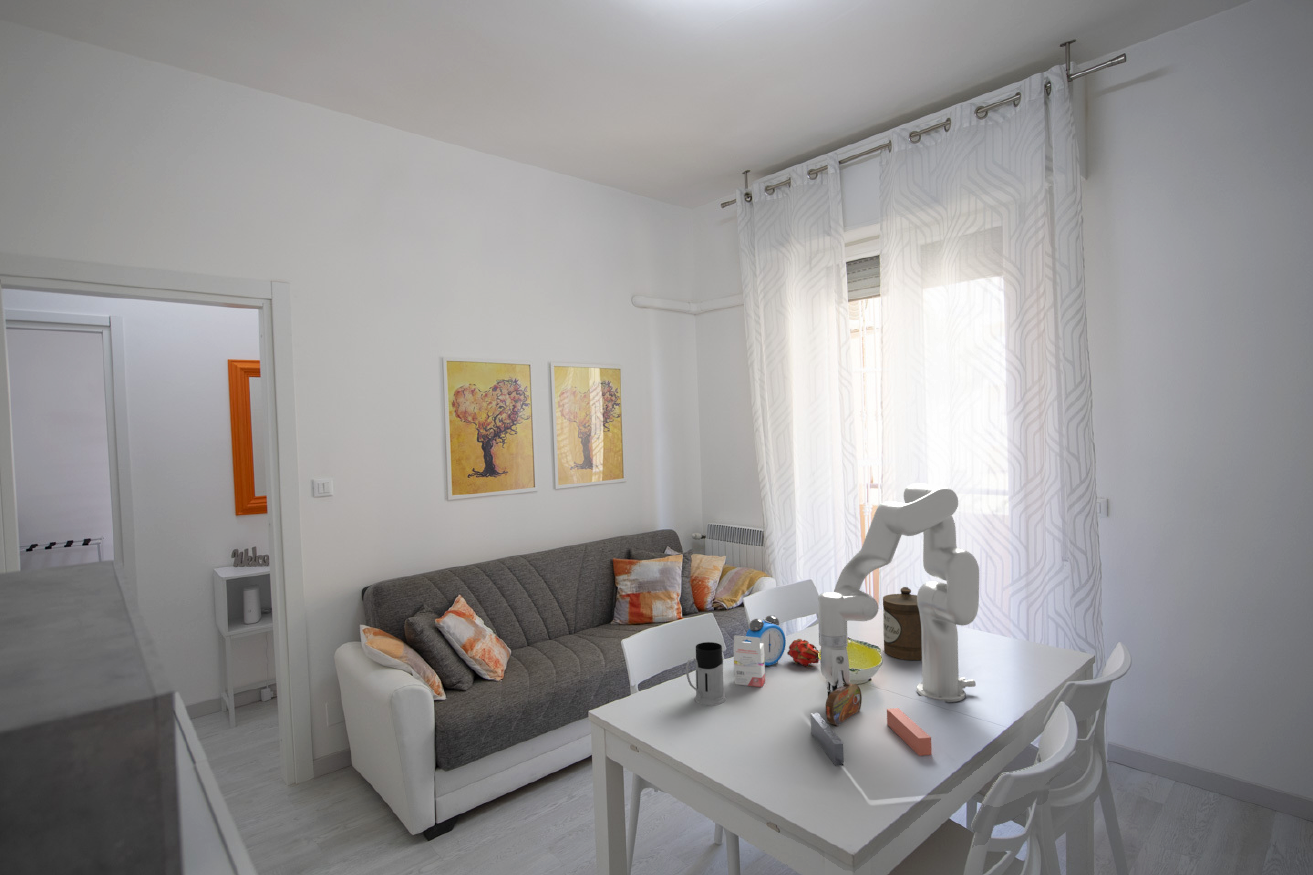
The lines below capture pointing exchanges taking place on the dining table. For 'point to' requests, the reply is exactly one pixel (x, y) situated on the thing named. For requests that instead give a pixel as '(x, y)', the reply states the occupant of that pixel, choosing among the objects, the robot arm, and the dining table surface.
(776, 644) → the alarm clock
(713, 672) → the glass holder
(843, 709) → the tin
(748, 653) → the ink cartridge box
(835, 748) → the gray metal bar
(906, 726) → the pink block
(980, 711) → the dining table surface
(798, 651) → the dragon fruit
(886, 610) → the wooden container
